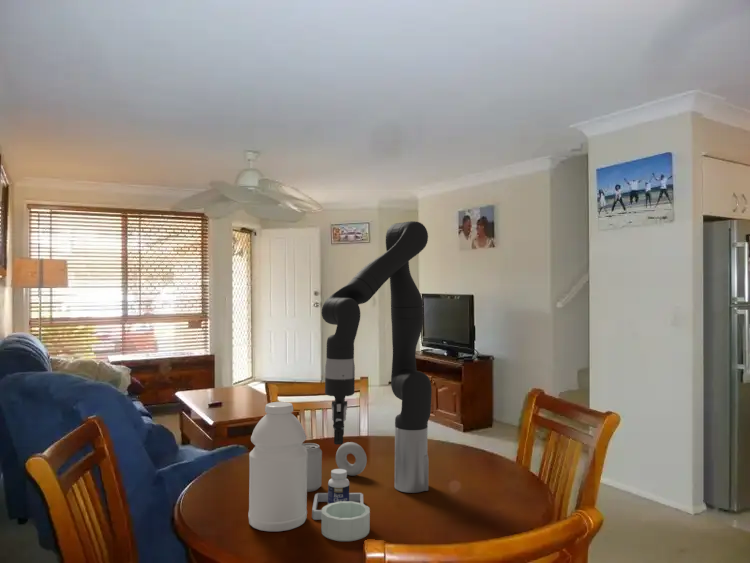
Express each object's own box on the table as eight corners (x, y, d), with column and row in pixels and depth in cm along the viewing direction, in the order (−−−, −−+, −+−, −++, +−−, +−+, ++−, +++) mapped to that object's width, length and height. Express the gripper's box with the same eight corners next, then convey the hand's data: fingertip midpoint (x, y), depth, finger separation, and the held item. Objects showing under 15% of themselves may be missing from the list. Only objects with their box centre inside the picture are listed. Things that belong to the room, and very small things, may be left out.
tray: (362, 500, 151) (363, 492, 151) (363, 519, 138) (363, 511, 138) (315, 500, 151) (315, 493, 151) (311, 519, 138) (311, 511, 138)
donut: (333, 475, 172) (333, 441, 172) (338, 471, 175) (338, 439, 175) (363, 479, 168) (364, 445, 168) (368, 475, 171) (368, 442, 171)
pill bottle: (332, 515, 141) (333, 475, 141) (324, 507, 146) (324, 469, 146) (352, 511, 143) (353, 472, 143) (343, 504, 148) (344, 466, 148)
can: (316, 493, 156) (317, 449, 156) (290, 491, 157) (291, 447, 157) (324, 484, 163) (325, 442, 163) (299, 482, 165) (300, 441, 165)
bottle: (254, 536, 128) (256, 411, 128) (242, 514, 141) (244, 400, 141) (314, 527, 134) (315, 407, 134) (298, 506, 146) (299, 397, 147)
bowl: (368, 521, 137) (368, 501, 137) (370, 541, 126) (370, 519, 126) (323, 521, 137) (323, 501, 137) (320, 541, 126) (320, 519, 126)
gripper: (354, 380, 138) (353, 447, 138) (354, 372, 152) (353, 433, 152) (323, 380, 138) (322, 447, 138) (326, 371, 152) (325, 432, 152)
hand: (339, 439), depth 145 cm, fingers open, 8 cm apart
